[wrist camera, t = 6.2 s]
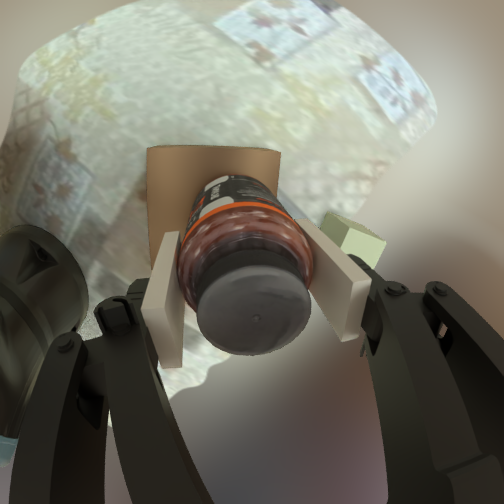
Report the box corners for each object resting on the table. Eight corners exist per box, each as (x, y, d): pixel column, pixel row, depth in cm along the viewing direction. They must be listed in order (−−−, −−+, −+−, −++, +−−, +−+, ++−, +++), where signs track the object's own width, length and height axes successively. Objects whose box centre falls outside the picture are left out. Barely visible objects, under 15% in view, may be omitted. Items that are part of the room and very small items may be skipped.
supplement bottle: (190, 173, 17) (153, 235, 7) (277, 172, 18) (355, 231, 8) (194, 253, 20) (180, 375, 10) (273, 251, 21) (323, 364, 10)
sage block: (308, 253, 29) (326, 275, 25) (327, 211, 27) (349, 227, 23) (344, 263, 31) (364, 285, 26) (362, 225, 29) (387, 242, 24)
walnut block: (159, 246, 26) (151, 270, 22) (158, 145, 22) (147, 148, 18) (257, 247, 28) (268, 270, 24) (266, 148, 24) (281, 152, 19)
